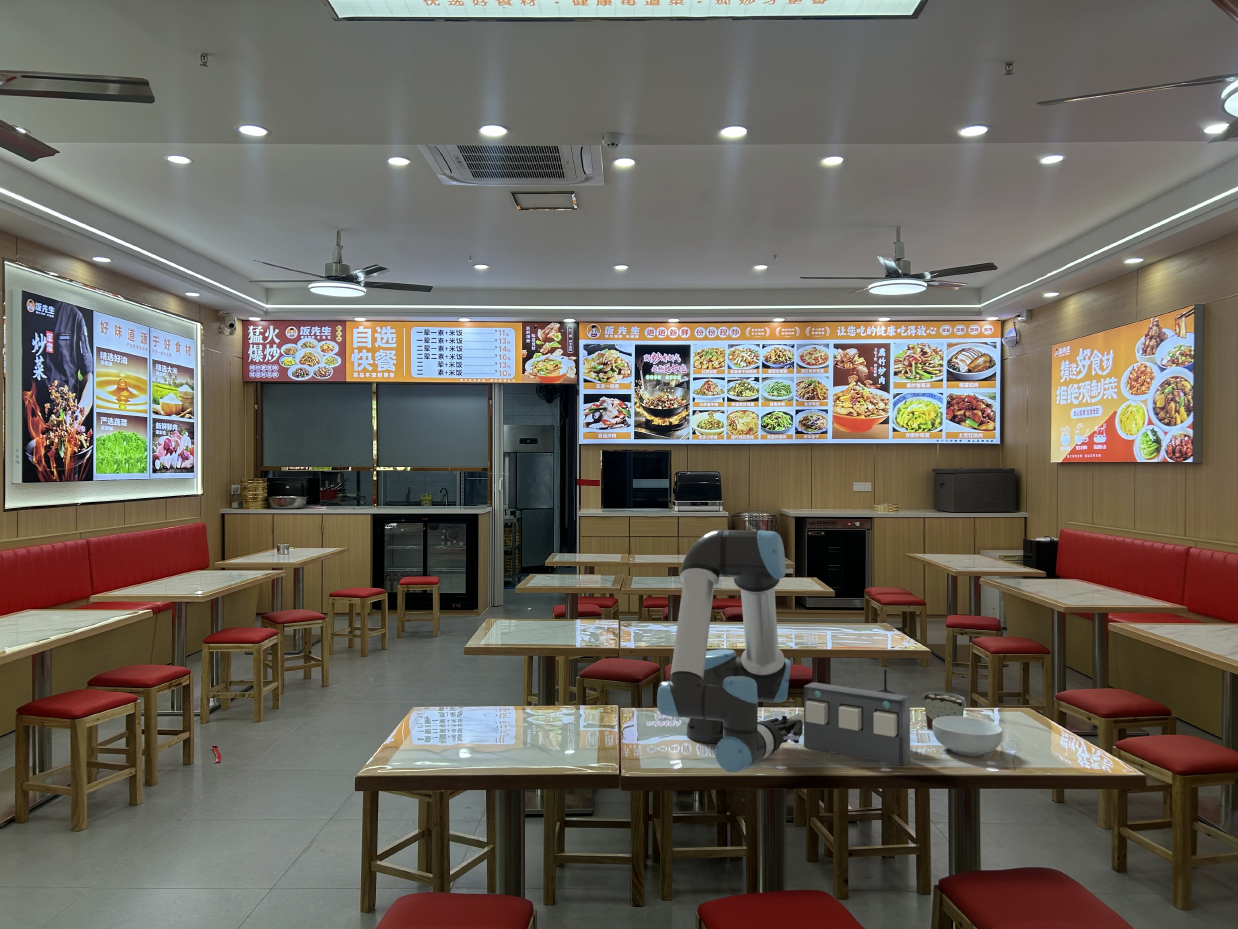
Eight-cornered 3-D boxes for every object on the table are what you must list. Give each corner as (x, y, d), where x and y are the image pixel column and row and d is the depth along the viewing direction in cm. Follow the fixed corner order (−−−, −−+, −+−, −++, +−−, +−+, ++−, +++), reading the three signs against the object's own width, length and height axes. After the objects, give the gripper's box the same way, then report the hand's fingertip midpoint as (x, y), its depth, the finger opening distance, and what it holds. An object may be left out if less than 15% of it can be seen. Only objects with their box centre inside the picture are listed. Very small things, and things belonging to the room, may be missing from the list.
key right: (893, 736, 204) (893, 716, 204) (873, 733, 207) (873, 713, 207) (898, 733, 207) (898, 713, 207) (878, 729, 210) (878, 709, 210)
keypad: (902, 766, 205) (902, 701, 205) (803, 747, 220) (803, 686, 220) (910, 760, 210) (909, 696, 210) (812, 741, 225) (812, 682, 225)
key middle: (857, 730, 209) (857, 710, 209) (838, 727, 212) (838, 707, 212) (863, 727, 213) (863, 707, 213) (844, 723, 215) (844, 704, 216)
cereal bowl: (931, 756, 213) (931, 729, 213) (932, 739, 228) (932, 713, 228) (1004, 765, 206) (1004, 736, 207) (1000, 746, 222) (1000, 720, 222)
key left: (823, 724, 214) (823, 705, 215) (805, 721, 217) (805, 702, 218) (829, 721, 218) (829, 702, 218) (811, 718, 221) (811, 699, 221)
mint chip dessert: (973, 732, 235) (973, 696, 235) (965, 736, 231) (965, 700, 231) (930, 723, 244) (930, 689, 244) (921, 728, 239) (921, 693, 239)
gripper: (734, 751, 193) (777, 729, 212) (786, 762, 185) (825, 738, 205) (734, 719, 193) (777, 700, 213) (786, 728, 186) (825, 708, 205)
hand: (800, 719), depth 209 cm, fingers closed
